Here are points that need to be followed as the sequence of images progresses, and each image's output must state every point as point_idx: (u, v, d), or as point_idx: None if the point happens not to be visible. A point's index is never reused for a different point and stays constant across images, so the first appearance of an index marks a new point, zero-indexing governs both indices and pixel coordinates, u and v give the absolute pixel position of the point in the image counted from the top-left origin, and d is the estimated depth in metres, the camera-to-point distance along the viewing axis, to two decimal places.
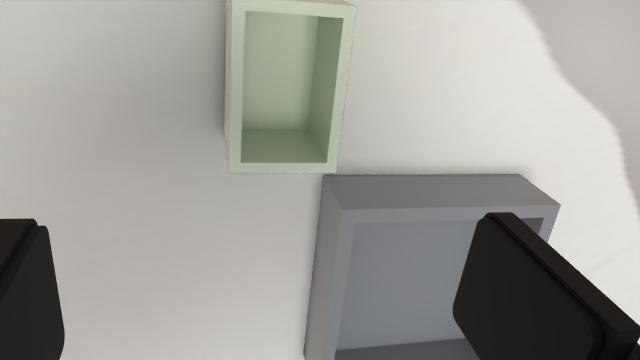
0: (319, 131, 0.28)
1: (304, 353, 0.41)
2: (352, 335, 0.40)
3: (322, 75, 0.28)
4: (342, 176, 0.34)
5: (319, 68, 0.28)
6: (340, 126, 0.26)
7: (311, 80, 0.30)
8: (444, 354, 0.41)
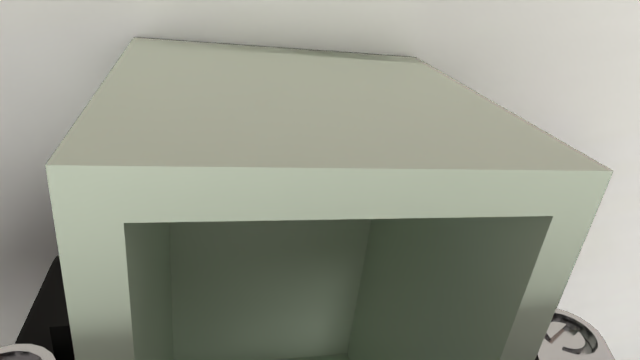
0: None
1: None
2: None
3: (405, 291, 0.10)
4: None
5: (392, 256, 0.11)
6: None
7: (362, 259, 0.12)
8: None
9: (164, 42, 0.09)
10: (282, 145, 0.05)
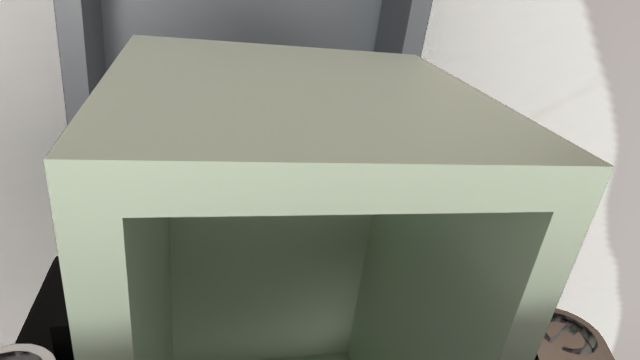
0: None
1: None
2: None
3: (405, 289, 0.10)
4: None
5: (391, 254, 0.11)
6: None
7: (362, 257, 0.12)
8: None
9: (164, 39, 0.09)
10: (281, 140, 0.05)
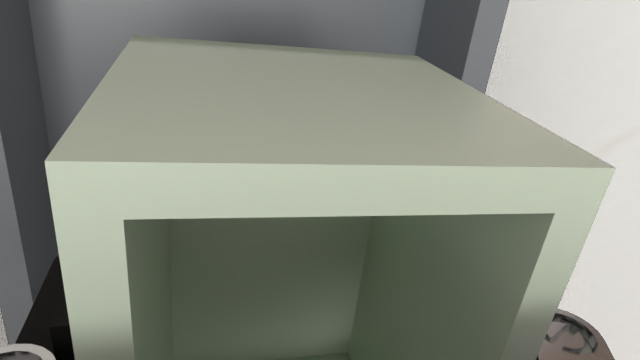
0: None
1: None
2: None
3: (405, 290, 0.10)
4: None
5: (392, 255, 0.11)
6: None
7: (362, 258, 0.12)
8: None
9: (164, 40, 0.09)
10: (282, 142, 0.05)
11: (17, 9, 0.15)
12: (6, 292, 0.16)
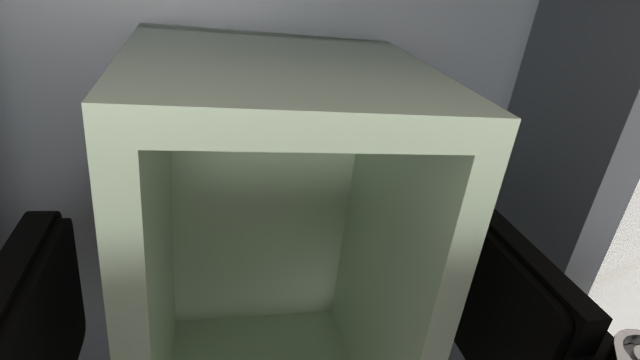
0: None
1: None
2: None
3: (375, 242, 0.11)
4: None
5: (365, 215, 0.12)
6: None
7: (342, 222, 0.14)
8: None
9: (166, 26, 0.11)
10: (259, 96, 0.07)
11: None
12: None
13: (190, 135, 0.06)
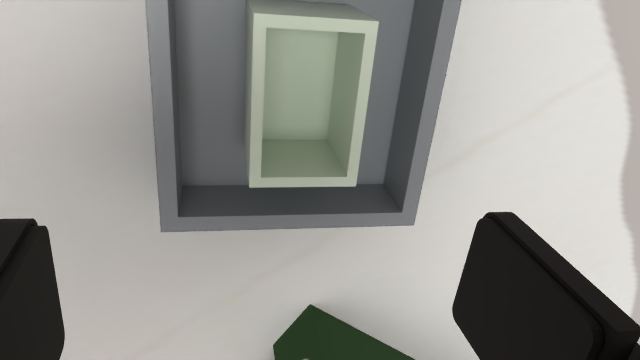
0: (339, 143, 0.28)
1: None
2: (225, 164, 0.31)
3: (342, 87, 0.27)
4: None
5: (339, 79, 0.28)
6: (361, 140, 0.26)
7: (331, 91, 0.30)
8: (347, 195, 0.32)
9: None
10: (298, 14, 0.23)
11: (172, 6, 0.25)
12: (162, 175, 0.27)
13: (280, 23, 0.22)
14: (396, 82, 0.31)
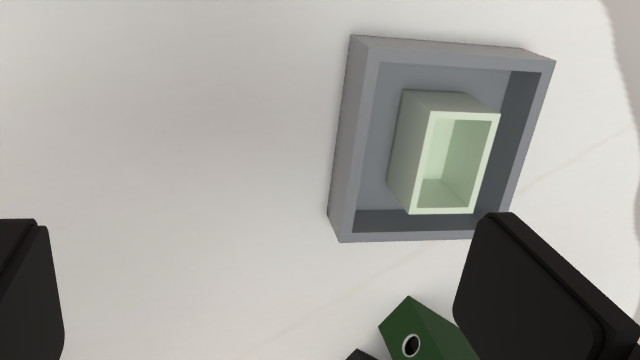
0: (458, 184, 0.42)
1: (327, 213, 0.46)
2: (370, 195, 0.45)
3: (463, 148, 0.42)
4: (366, 36, 0.39)
5: (459, 141, 0.42)
6: (479, 184, 0.40)
7: (448, 147, 0.44)
8: (451, 217, 0.47)
9: (409, 90, 0.41)
10: (453, 109, 0.37)
11: None
12: (347, 205, 0.40)
13: (444, 116, 0.36)
14: None
